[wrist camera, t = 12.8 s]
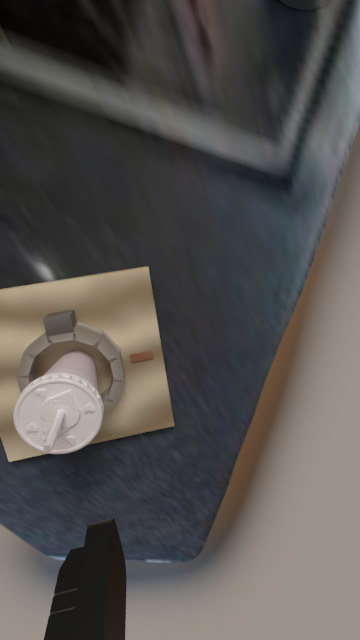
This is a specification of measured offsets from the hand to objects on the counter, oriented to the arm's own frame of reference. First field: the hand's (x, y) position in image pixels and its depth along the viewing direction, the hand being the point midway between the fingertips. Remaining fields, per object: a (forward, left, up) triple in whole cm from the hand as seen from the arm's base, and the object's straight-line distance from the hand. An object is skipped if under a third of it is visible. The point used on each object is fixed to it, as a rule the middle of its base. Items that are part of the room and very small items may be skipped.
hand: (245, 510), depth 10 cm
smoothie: (+4, -9, -25) cm, 26 cm away
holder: (+4, -10, -26) cm, 28 cm away
